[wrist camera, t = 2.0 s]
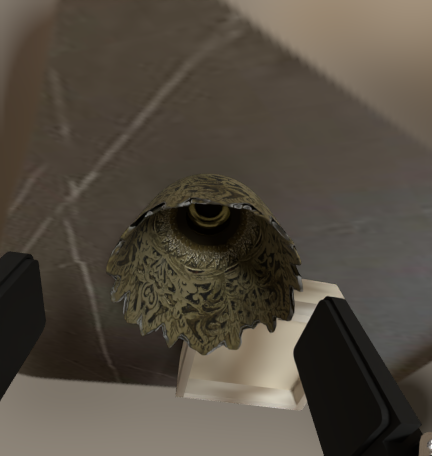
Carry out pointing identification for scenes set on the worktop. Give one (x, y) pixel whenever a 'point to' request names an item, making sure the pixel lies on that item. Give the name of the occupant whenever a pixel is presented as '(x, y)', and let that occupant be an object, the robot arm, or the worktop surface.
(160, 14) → the worktop surface
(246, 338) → the birch tray
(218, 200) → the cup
